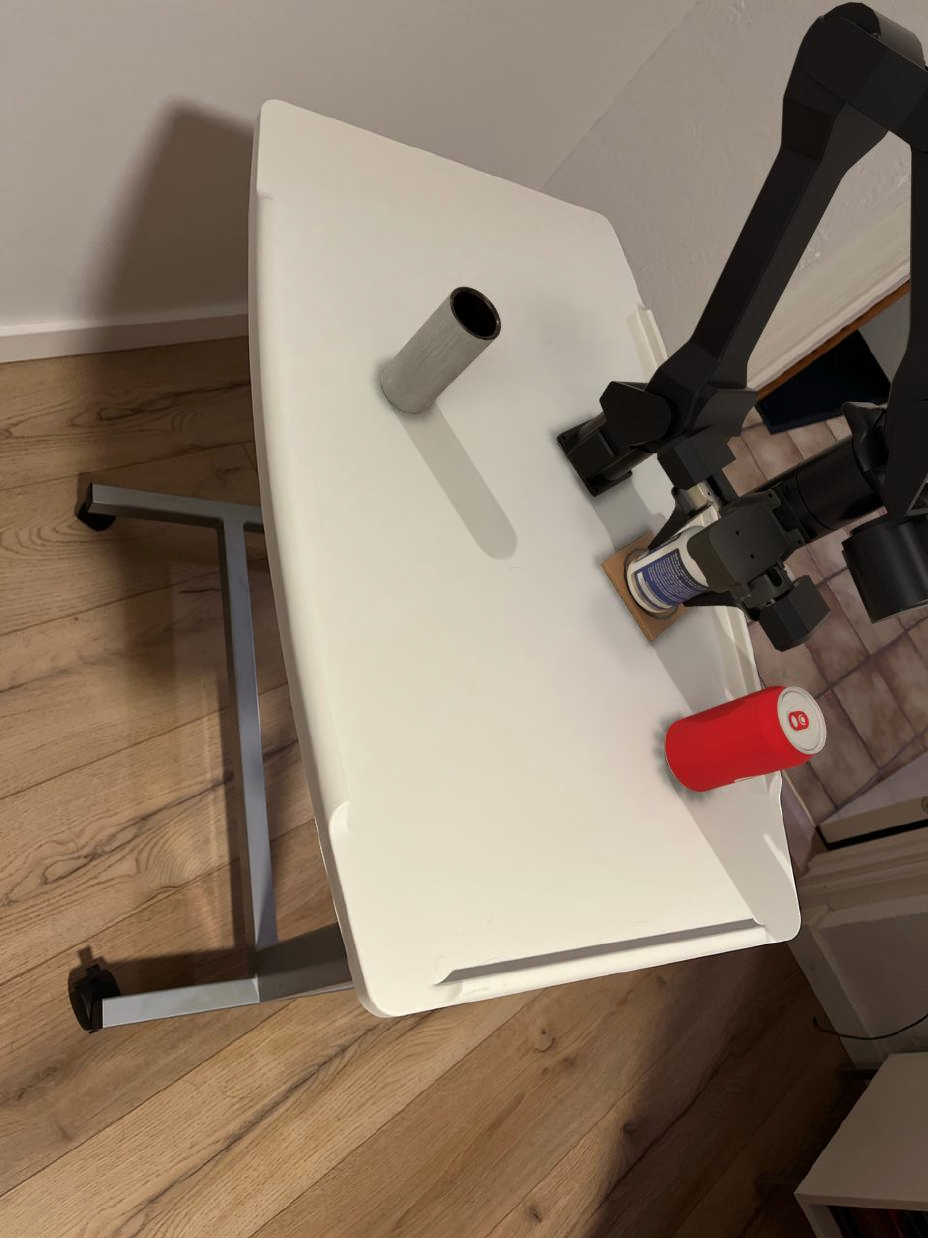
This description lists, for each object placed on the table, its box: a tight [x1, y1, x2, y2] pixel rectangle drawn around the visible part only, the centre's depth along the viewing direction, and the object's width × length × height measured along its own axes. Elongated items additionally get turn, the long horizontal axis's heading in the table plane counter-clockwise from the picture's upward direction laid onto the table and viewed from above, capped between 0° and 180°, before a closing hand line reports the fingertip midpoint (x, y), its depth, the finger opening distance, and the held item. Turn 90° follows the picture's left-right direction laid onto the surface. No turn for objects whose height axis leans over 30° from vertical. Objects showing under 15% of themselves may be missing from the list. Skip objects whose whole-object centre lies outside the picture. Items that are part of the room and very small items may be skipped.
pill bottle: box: [627, 524, 710, 613], centre depth 77 cm, size 5×5×10 cm
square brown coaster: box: [600, 530, 693, 642], centre depth 81 cm, size 8×8×1 cm
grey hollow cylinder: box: [380, 286, 502, 414], centre depth 69 cm, size 4×4×10 cm
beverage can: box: [664, 685, 827, 793], centre depth 72 cm, size 6×6×12 cm
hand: (667, 575), depth 78 cm, fingers closed on pill bottle, 5 cm apart
